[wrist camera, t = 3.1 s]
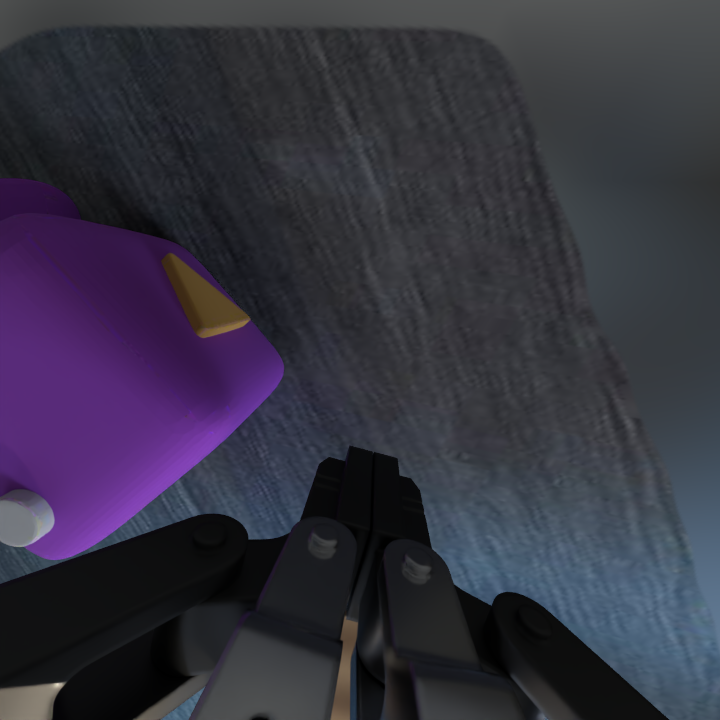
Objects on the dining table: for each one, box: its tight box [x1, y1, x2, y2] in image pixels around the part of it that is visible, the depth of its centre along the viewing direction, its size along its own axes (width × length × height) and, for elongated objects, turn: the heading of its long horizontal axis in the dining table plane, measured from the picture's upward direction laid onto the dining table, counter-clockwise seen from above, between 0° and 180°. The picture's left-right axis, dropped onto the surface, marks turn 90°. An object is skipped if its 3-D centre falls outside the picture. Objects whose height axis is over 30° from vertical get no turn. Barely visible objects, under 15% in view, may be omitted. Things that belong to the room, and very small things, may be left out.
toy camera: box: [0, 178, 284, 560], centre depth 15 cm, size 11×14×10 cm
